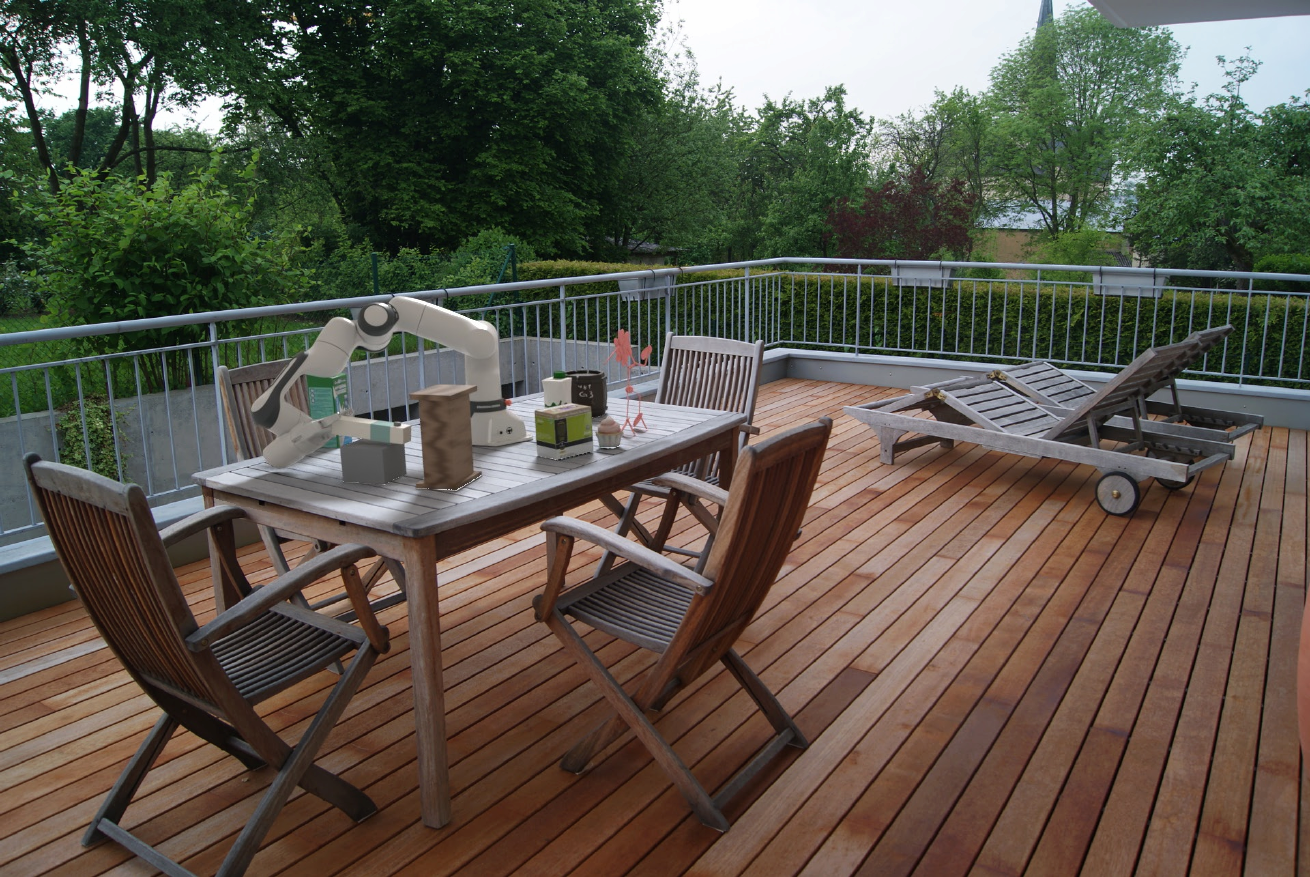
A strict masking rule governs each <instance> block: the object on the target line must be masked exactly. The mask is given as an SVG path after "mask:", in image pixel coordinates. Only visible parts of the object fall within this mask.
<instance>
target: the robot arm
mask: <svg viewBox="0 0 1310 877" xmlns="http://www.w3.org/2000/svg"><path fill="white" fill-rule="evenodd" d="M396 332H406V333H409V334H412V335H414V336H417V337H420V338H423V339H426V340H428V341H431V342H435V343H437V344H440V345H442V346H445V347H446V348H448V349H451V350H454V351H455V352H458V353H461V354H463V355H464V375H465V376H464V377H465V379H464V380H465V385H477V391H476V392H473V393H471V394H469V398H470V416H471V433H472V446H487V447H488V446H489V447H500V446H504V445H511V444H516V443H520V442H526V441H532V440H533V439H534V436H533V433H531V432H529V431H527V429H526V425H525V422H524V420H523V419H522V418H521V417H520V416H518V415H517V414H516V413H514V412H513V411H511V410H510V409H508V407H511V406H512V404H513V402H512V400H510V399H509V398H507V399H506V398H503V397H502V394H501V391H502V390H501V376H500V375H501V374H500V373H501V370H500V356H499V355H500V354H499V352H500V351H499V335H498V331H497V329H496V327H495V326H494V325H493V324H491V323H490V322H489V321H486V320H481V319H479V320H474V319H472V318H471V319H470V318H468V317H466V316H464V315H461V314H459V313H456V312H454V311H452V310H450V309H448V308H444V307H442V306H438V305H435V304H433V303H430V302H427V301H424V300H420V299H417V298H414V297H409V296H403V295H396V296H394V297H393V298H391V299H390V300H389V302H386V301H384V302H369V303H366V304H365V305H363V307H362V308H360V310H359V311H358V314H357V318H356V319H354V320H353V319H352V320H351V319H348V318H347V317H342V316H337V317H336V316H335V317H332V318H331V319H330V320H329V321H328V322H327V323H326V325H325V326H324V327H323V329H322V330H321V331H320V333H319V335H318V336H317V337H316V340H315V341H314V343H313V345H312V346H311V347H310V348H309V349H307V350H301V351H298V352H297V353H296V354H295V355H293V356H292V357H291V358H290V360H289V361H288V362H287V363H285V365H284V366H283V368H282V369H281V370H280V372H278V375H276V376H275V378H274V379H273V380H272V381H271V383H270V384H269V385H268V386H267V388H266V389H265V390H264V391H263V392H262V393H261V394H260V395H258V397H257V398H256V399H255V401H253V403H252V404H251V407H250V411H249V412H250V417H251V419H252V422H253V424H254V425H255V426H258V427H260V428H262V429H265V430H267V431H269V432H271V433H273V434H274V435H276V437H275V439H274V440H273V441H271V442H270V443H269V444H268V445H267V446H266V447H265V448H264V449H263V450H262V456H263V458H264V460H265V461H266V463H267V464H268V465H270V466H271V467H272V468H275V469H277V470H282V469H286V468H288V467H291V466H293V465H295V464H296V463H298V462H299V461H301V460H303V458H304V457H305V456H308V455H311V454H313V453H314V452H315V451H317V450H318V449H321V448H323V447H322V446H324V445H325V444H326V443H327V442H328V441H329V440H331V439H333V438H334V437H336V435H335V434H332V423H334V422H335V421H337V420H339V419H341V415H342V416H349V417H354V415H355V410H354V409H353V407H351V408H350V407H349V409H348V410H345V411H342V412H339V413H336V414H333V415H331V416H328V417H325V418H321V419H312V418H311V417H310V415H308V414H306V413H305V412H304V411H302V410H300V409H298V408H297V407H295V406H294V405H292V404H291V403H289V402H287V401H286V399H285V395H286V394H287V393H288V391H289V390H290V389H291V387H293V385H294V384H295V383H296V381H297V380H298V379H299V377H300V376H302V375H306V374H307V375H312V376H316V377H325V378H327V377H334V376H336V375H338V374H340V373H343V371H344V369H345V368H346V366H347V364H348V362H349V360H350V358H351V357H352V354H353V352H354V350H357V351H363V352H366V353H370V354H371V353H372V354H377V353H381V352H383V351H385V350H386V349H387V348H388V347H389V346H390V343H391V342H392V338H393V334H394V333H396Z"/></svg>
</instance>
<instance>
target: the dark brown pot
mask: <svg viewBox="0 0 1310 877" xmlns="http://www.w3.org/2000/svg"><path fill="white" fill-rule="evenodd" d="M564 372H565V377H568V378H572V381H571V403H572V404H578V405H584V406H590V407H591V413H592V417H595V418H599V417H598V416H600V417H603V416H604V415H605V414H606V411H608V409H609V406H608V386H607V384H608V383H607V380H608V377H607V375H605V372H604V371H602V370H600V369H599V370H598V369H589V370H588V369H577V370H574V369H572V370H567V371H564ZM602 415H603V416H602Z"/></svg>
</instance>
